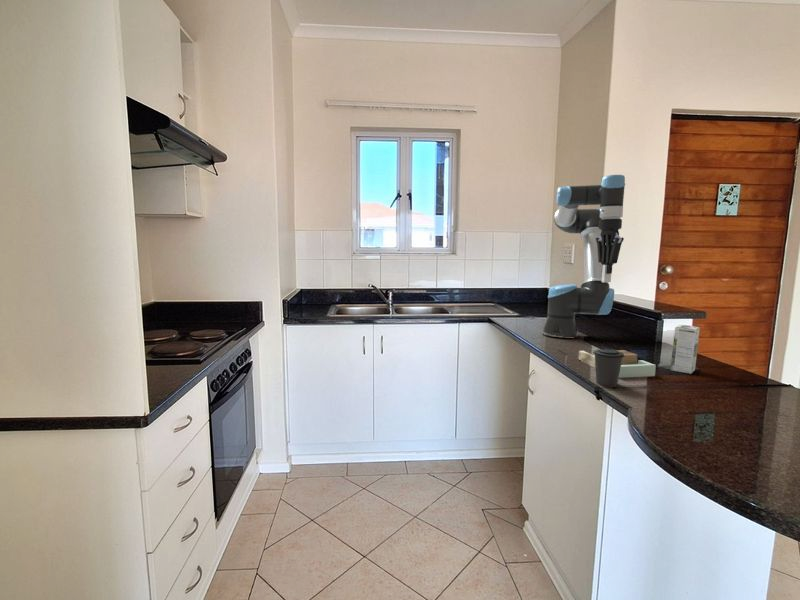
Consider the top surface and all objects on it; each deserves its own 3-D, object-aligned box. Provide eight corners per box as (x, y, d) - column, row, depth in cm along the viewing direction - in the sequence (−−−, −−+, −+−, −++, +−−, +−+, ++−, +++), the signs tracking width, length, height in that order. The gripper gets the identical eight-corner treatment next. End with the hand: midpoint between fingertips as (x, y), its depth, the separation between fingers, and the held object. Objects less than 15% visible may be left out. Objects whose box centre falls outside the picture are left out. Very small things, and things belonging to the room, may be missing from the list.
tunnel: (578, 360, 140) (578, 350, 140) (611, 359, 142) (612, 349, 142) (596, 368, 130) (597, 358, 130) (632, 367, 132) (632, 356, 132)
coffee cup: (629, 387, 112) (631, 353, 111) (603, 389, 111) (605, 354, 110) (609, 378, 120) (611, 346, 119) (585, 379, 119) (587, 347, 118)
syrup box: (674, 367, 132) (678, 324, 131) (696, 370, 128) (700, 326, 126) (670, 370, 128) (674, 326, 127) (692, 374, 124) (696, 329, 122)
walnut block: (606, 368, 131) (607, 350, 130) (622, 367, 132) (623, 350, 131) (618, 374, 125) (620, 355, 124) (635, 373, 126) (637, 354, 125)
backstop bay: (604, 372, 126) (605, 361, 126) (641, 370, 128) (642, 360, 128) (616, 377, 121) (617, 366, 120) (654, 376, 123) (655, 365, 122)
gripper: (590, 219, 152) (586, 280, 156) (612, 217, 140) (608, 284, 143) (608, 219, 153) (604, 280, 157) (632, 217, 141) (627, 283, 144)
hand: (606, 282), depth 150 cm, fingers closed
